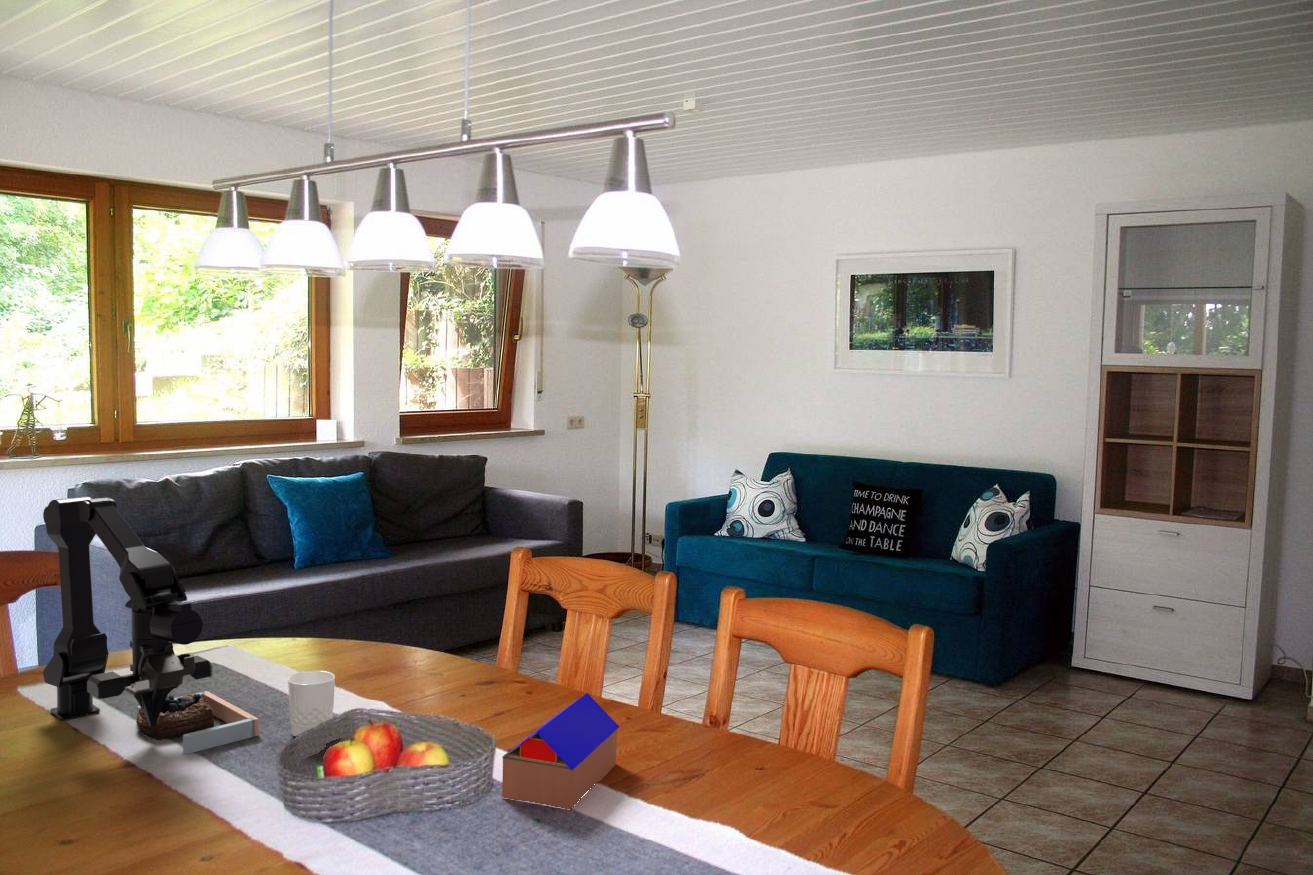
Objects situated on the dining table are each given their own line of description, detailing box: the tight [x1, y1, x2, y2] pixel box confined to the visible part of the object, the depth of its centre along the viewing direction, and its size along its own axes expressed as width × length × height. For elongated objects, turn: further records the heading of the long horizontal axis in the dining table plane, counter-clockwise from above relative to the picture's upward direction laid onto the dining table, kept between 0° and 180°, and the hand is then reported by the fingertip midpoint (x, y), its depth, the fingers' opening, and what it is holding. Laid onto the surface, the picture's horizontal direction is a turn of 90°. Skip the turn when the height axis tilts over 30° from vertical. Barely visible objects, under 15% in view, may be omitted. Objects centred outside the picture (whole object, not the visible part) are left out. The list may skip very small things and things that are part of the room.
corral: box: [136, 690, 260, 755], centre depth 183 cm, size 20×13×3 cm, turn 48°
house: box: [501, 692, 620, 809], centre depth 165 cm, size 12×20×12 cm, turn 161°
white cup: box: [287, 670, 336, 737], centre depth 183 cm, size 8×8×10 cm
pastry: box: [136, 693, 215, 741], centre depth 184 cm, size 11×12×6 cm
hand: (152, 725), depth 177 cm, fingers closed
